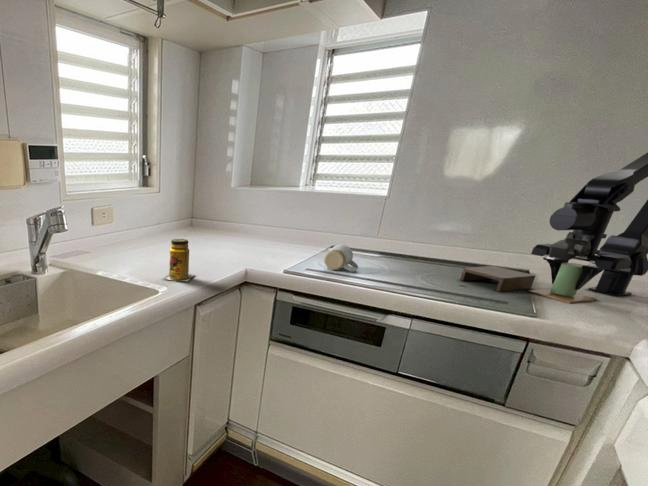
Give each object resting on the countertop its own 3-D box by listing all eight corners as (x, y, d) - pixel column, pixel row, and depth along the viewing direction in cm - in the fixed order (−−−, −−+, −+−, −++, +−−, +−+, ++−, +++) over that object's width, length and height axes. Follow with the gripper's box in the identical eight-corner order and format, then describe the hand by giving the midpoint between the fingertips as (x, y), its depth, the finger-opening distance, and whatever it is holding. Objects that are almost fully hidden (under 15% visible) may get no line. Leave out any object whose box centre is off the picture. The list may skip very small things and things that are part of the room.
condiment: (164, 279, 125) (165, 241, 120) (173, 273, 132) (174, 236, 128) (187, 282, 123) (188, 242, 118) (194, 275, 130) (196, 238, 125)
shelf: (489, 277, 128) (493, 265, 126) (530, 288, 117) (535, 275, 116) (459, 280, 125) (463, 267, 124) (499, 291, 114) (504, 278, 113)
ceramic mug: (320, 268, 138) (325, 246, 134) (327, 264, 143) (332, 242, 140) (354, 274, 132) (359, 251, 128) (359, 269, 137) (365, 247, 134)
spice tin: (558, 289, 114) (570, 262, 111) (579, 295, 109) (592, 266, 106) (545, 291, 113) (556, 263, 109) (566, 296, 108) (579, 267, 105)
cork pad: (553, 289, 117) (554, 287, 117) (596, 300, 108) (597, 298, 108) (527, 291, 115) (528, 290, 114) (569, 303, 106) (570, 301, 105)
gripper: (526, 225, 111) (507, 279, 117) (613, 236, 94) (585, 300, 100) (556, 223, 113) (535, 277, 119) (646, 234, 97) (616, 296, 103)
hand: (565, 286), depth 110 cm, fingers closed on spice tin, 5 cm apart
